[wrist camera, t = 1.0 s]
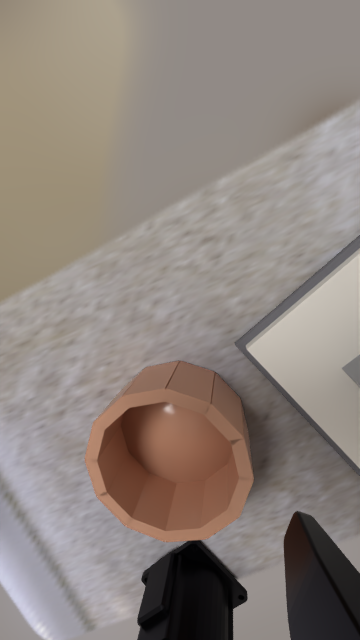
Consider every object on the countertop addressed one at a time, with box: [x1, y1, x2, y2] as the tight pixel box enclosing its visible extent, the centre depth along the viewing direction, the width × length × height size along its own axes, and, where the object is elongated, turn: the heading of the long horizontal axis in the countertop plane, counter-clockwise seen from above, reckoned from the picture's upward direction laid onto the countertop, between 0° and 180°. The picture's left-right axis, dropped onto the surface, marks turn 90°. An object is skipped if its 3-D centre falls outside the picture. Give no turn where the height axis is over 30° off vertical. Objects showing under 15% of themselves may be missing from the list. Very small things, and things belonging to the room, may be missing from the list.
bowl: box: [85, 361, 254, 542], centre depth 20 cm, size 10×10×5 cm
